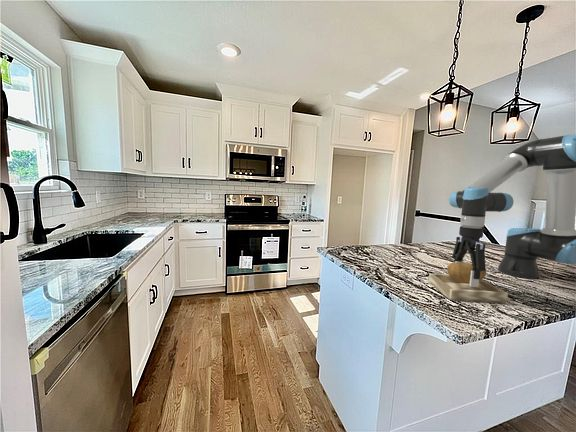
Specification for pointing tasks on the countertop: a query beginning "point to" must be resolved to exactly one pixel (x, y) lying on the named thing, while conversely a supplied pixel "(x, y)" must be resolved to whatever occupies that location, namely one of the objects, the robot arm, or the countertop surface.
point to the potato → (462, 272)
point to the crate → (467, 290)
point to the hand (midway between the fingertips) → (465, 281)
